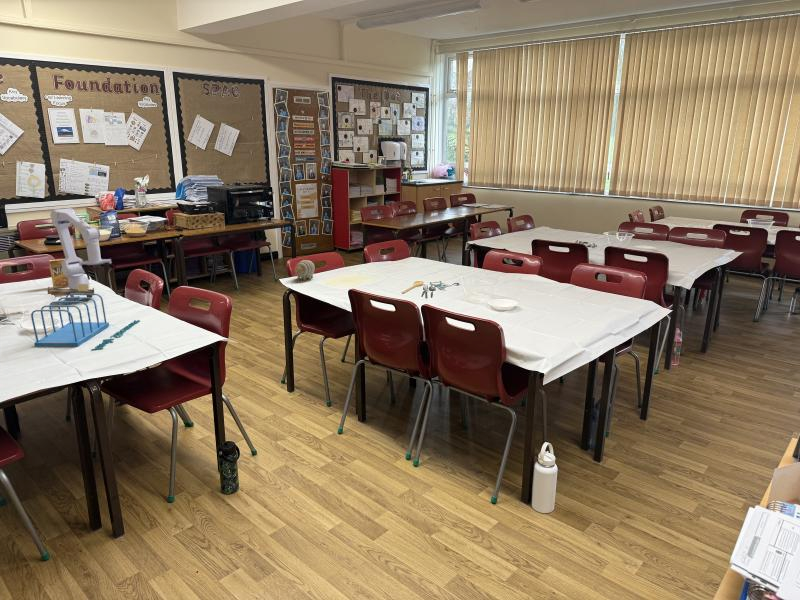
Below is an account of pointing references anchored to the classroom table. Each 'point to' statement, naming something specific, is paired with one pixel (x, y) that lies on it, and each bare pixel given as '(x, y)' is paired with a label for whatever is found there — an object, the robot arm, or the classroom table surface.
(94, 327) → the file sorter
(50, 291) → the beam
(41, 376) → the classroom table surface
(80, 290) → the brass weight
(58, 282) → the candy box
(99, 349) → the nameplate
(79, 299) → the pivot stand
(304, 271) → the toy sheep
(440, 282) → the classroom table surface
